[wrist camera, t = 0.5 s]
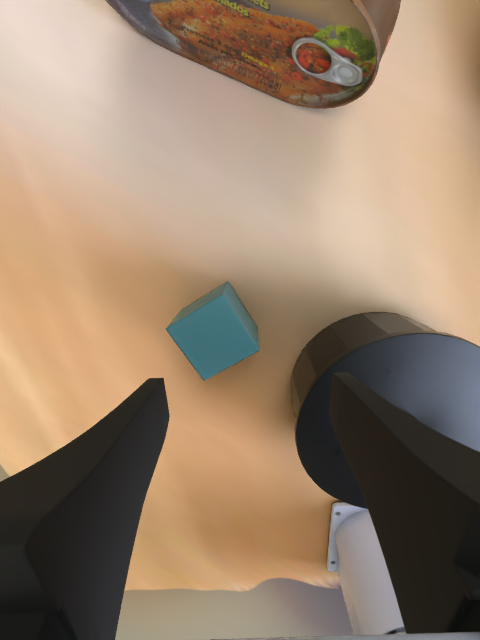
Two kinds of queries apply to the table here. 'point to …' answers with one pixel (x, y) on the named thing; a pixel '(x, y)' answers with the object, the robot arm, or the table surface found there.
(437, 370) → the lid
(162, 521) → the table surface
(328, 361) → the black round container
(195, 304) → the block
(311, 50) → the tin
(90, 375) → the table surface
